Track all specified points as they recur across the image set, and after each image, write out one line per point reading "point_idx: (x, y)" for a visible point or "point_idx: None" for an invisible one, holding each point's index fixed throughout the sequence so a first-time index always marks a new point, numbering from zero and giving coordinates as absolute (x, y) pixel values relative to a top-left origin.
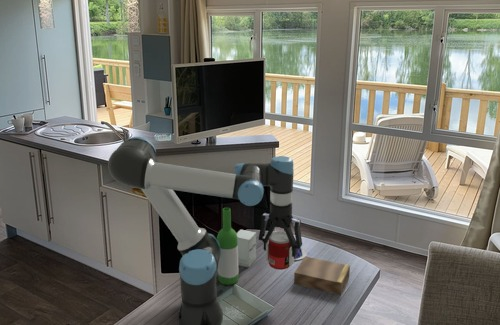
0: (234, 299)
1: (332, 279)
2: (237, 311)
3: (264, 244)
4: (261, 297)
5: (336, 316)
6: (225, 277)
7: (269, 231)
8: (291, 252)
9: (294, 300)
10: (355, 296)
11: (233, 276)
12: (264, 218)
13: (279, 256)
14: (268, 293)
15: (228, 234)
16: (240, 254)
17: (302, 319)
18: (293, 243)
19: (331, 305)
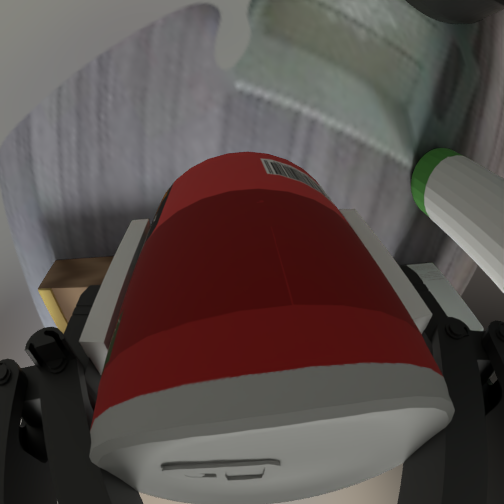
0: (387, 73)
1: (69, 296)
2: (348, 7)
3: (434, 307)
4: (297, 117)
5: (13, 154)
6: (456, 155)
7: (471, 489)
8: (91, 308)
9: (163, 157)
10: (28, 271)
11: (436, 170)
12: None
13: (206, 206)
14: (280, 153)
15: None
16: (433, 289)
17: (89, 68)
18: (43, 417)
19: (47, 198)
